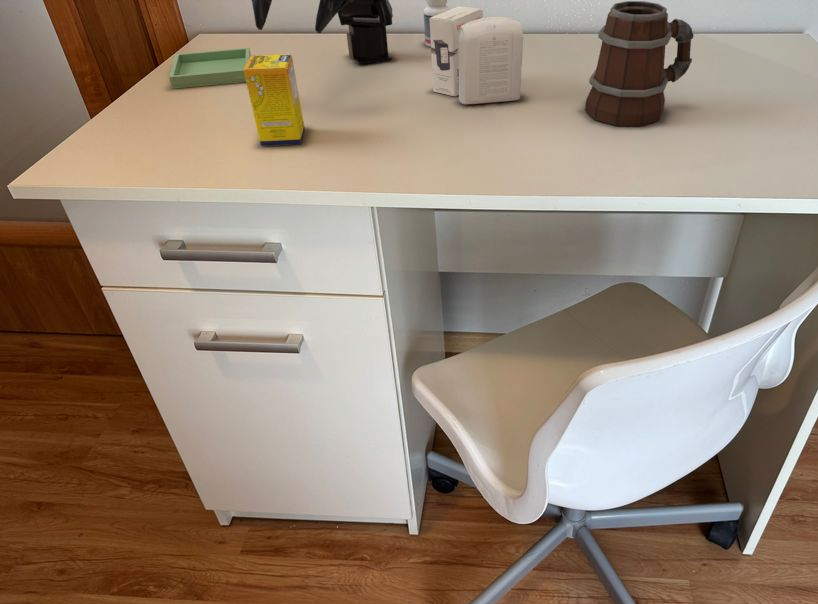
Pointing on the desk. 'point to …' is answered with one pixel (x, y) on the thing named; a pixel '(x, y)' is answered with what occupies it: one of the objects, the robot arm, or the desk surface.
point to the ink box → (448, 47)
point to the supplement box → (275, 99)
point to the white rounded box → (490, 60)
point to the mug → (636, 64)
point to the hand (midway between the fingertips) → (287, 30)
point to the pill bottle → (435, 7)
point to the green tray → (209, 68)
